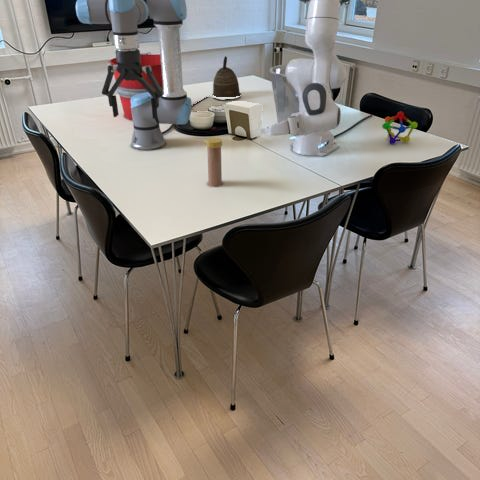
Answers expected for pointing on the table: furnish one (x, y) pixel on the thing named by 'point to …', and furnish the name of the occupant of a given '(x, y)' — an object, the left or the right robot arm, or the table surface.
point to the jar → (214, 166)
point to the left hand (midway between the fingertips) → (135, 116)
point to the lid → (214, 142)
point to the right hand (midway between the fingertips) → (264, 130)
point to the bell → (225, 82)
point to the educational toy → (398, 128)
